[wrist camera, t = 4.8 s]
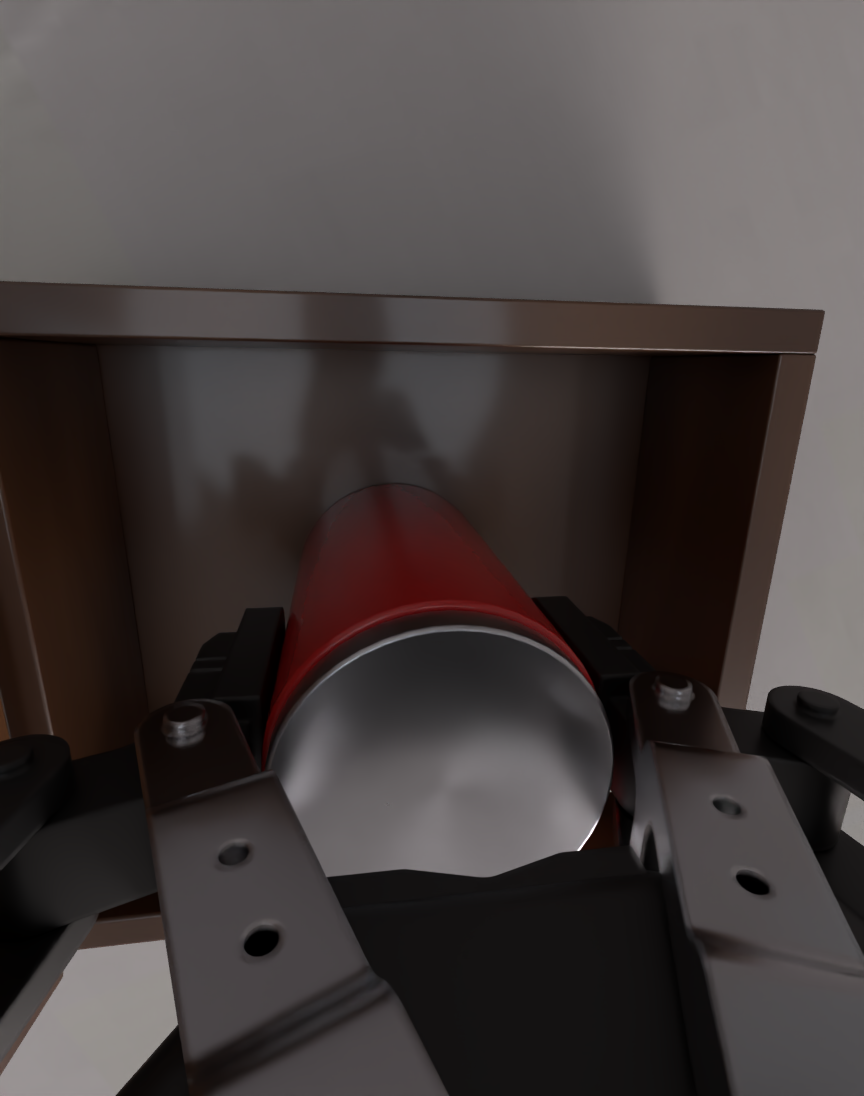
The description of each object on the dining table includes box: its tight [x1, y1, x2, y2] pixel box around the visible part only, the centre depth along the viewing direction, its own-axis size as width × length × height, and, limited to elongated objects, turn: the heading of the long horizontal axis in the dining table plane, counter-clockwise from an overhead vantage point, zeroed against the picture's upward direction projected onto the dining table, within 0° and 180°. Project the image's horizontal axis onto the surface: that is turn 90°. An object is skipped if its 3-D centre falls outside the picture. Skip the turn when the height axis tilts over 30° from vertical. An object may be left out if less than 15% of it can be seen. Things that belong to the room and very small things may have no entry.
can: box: [261, 484, 614, 877], centre depth 12 cm, size 5×5×9 cm
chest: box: [0, 281, 825, 950], centre depth 15 cm, size 16×14×6 cm
